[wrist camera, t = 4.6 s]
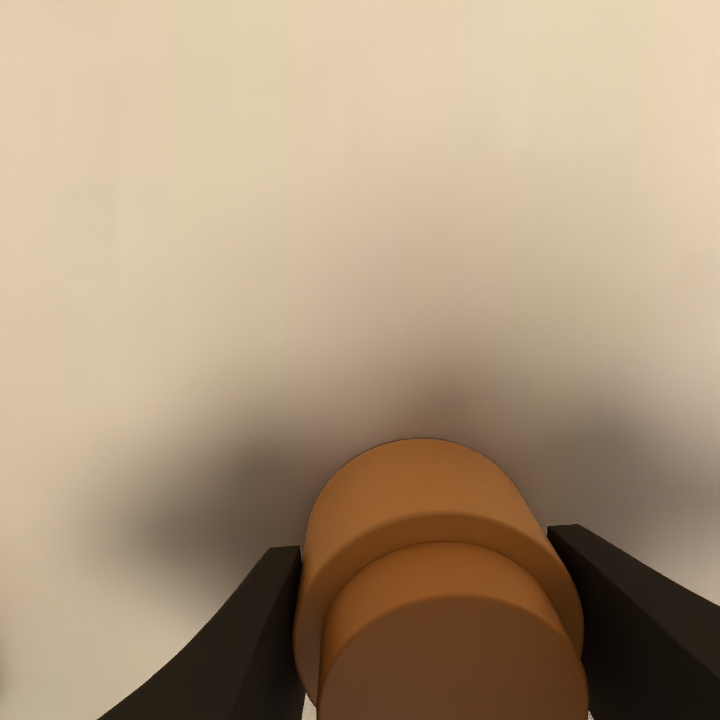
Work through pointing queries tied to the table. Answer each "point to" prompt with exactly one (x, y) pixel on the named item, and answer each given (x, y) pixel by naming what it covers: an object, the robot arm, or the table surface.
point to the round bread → (434, 595)
